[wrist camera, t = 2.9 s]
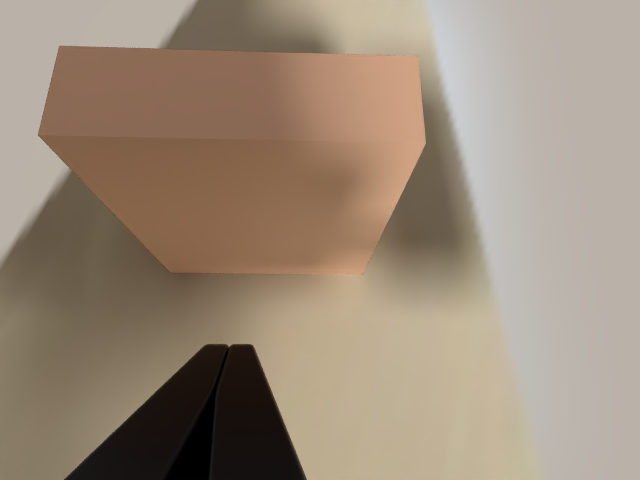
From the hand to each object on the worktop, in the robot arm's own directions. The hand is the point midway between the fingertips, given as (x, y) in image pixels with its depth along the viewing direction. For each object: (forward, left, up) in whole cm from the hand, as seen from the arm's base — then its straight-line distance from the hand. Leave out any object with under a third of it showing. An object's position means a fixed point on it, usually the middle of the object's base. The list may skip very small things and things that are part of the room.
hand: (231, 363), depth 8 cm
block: (+5, 0, -8) cm, 9 cm away
